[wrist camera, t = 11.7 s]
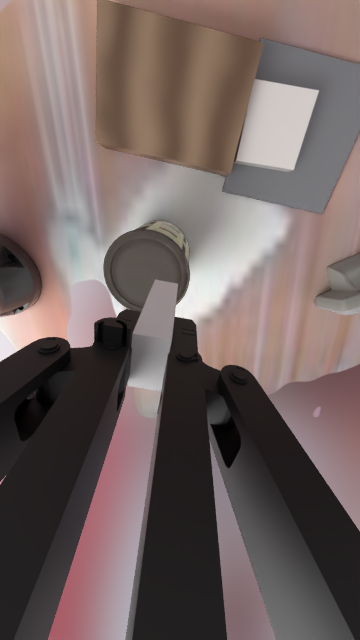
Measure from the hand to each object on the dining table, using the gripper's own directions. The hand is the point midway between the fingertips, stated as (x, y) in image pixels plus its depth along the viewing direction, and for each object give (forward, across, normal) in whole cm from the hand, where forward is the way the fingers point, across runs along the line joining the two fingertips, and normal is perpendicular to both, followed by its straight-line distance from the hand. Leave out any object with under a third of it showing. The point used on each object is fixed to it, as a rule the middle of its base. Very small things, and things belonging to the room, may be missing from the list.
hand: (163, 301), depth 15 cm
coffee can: (+26, -3, -2) cm, 27 cm away
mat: (+26, +14, +16) cm, 33 cm away
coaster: (+26, +10, +16) cm, 32 cm away
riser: (+26, -3, +16) cm, 31 cm away
